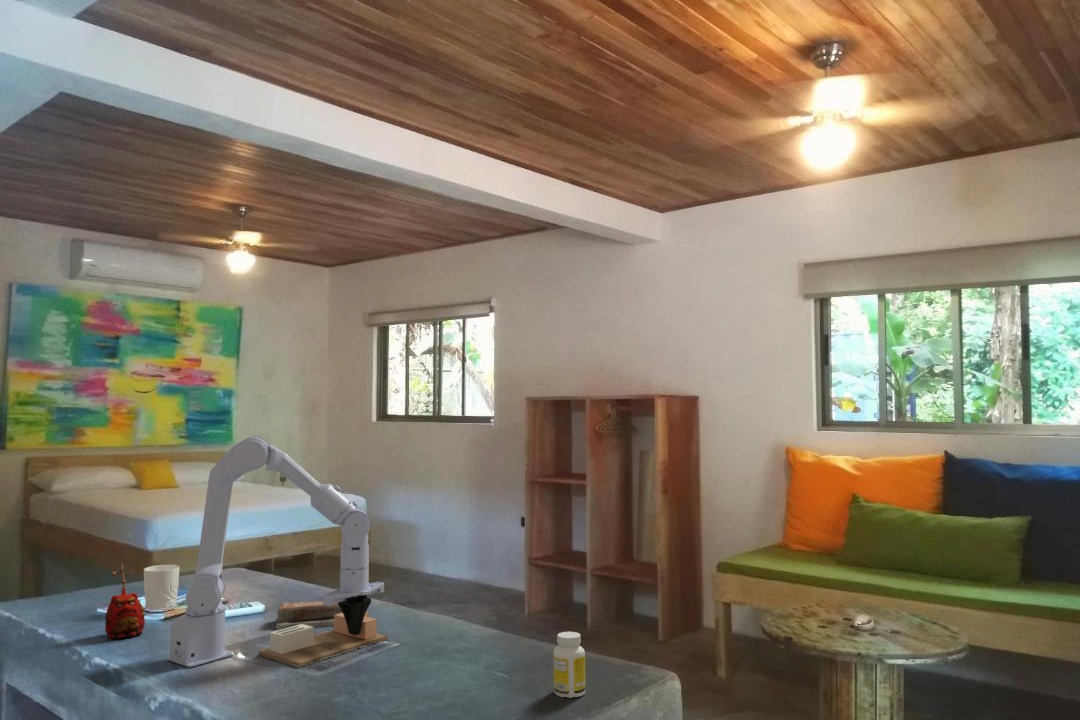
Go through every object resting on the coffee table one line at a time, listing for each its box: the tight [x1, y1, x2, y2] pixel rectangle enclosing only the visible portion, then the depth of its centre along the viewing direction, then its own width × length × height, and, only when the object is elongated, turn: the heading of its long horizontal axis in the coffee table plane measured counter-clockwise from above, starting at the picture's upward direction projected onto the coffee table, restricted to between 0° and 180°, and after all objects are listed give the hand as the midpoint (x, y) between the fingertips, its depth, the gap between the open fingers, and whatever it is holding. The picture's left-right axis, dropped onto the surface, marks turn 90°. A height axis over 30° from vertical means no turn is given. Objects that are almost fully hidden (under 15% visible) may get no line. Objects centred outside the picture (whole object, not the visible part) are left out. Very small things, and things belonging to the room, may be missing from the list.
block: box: [333, 610, 378, 639], centre depth 171 cm, size 6×10×4 cm, turn 53°
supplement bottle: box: [552, 631, 586, 699], centre depth 137 cm, size 5×5×10 cm
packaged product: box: [275, 600, 343, 631], centre depth 183 cm, size 18×5×10 cm
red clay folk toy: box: [104, 563, 146, 640], centre depth 173 cm, size 8×7×15 cm
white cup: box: [143, 564, 181, 609], centre depth 194 cm, size 8×8×10 cm
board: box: [258, 629, 389, 666], centre depth 163 cm, size 22×13×1 cm, turn 143°
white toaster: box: [269, 624, 315, 654], centre depth 161 cm, size 8×4×4 cm, turn 143°
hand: (354, 633), depth 166 cm, fingers closed
